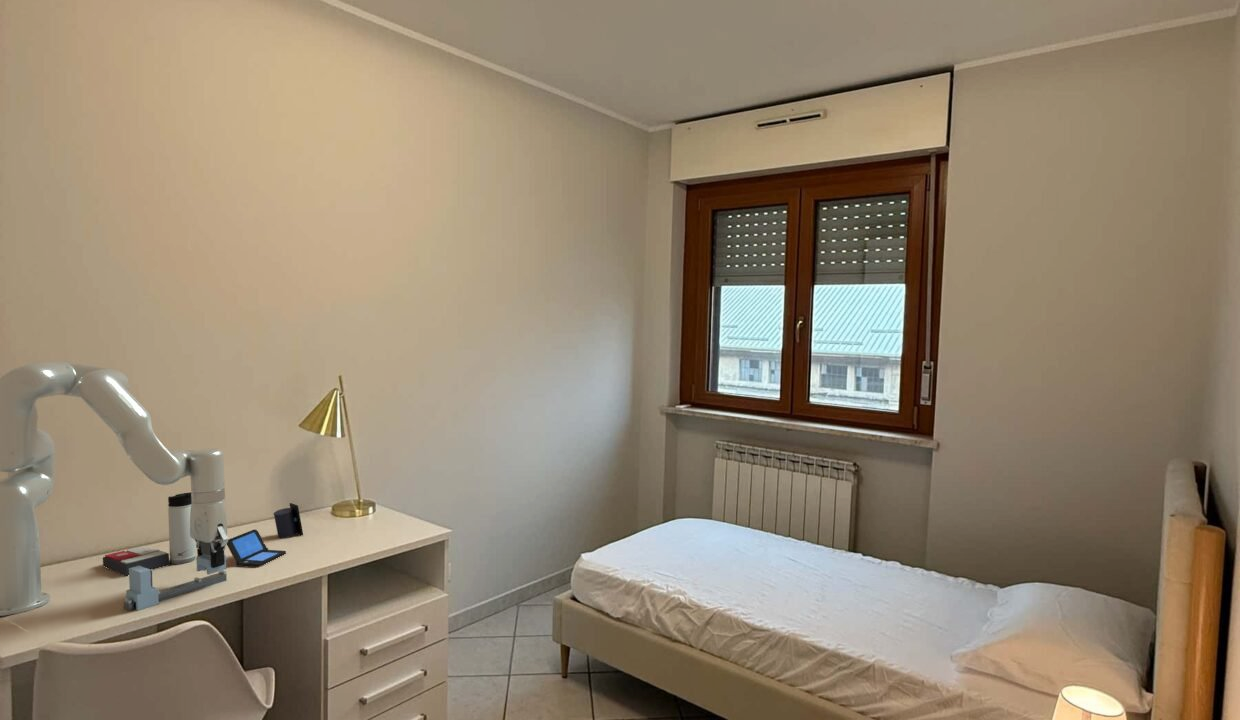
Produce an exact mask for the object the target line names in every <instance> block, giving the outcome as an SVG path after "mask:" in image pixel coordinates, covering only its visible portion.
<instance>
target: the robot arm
mask: <svg viewBox="0 0 1240 720" xmlns="http://www.w3.org/2000/svg"><path fill="white" fill-rule="evenodd" d="M129 390H130V382H129V379H128V377H127V376H126V375H125V373H123V372H121V371H119V369H118V370H117V369H115V368H108V367H99V366H92V365H85V364H81V363H80V364H79V363H73V362H66V361H47V362H45V361H44V362H34V363H28V364H25V365H22V366H21V365H20V366H18V367H16V368H14V369H10V370H9V371H7V372H5V373H4V374H2V375H1V376H0V472H3V473H7V477H4V478H1V479H0V617H2V616H11V615H17V614H20V613H25V612H28V611H32V610H34V609H37V608H39V607H42V606H44V605H46V604H47V603H48V602H49V601H50V599H51V595H50V593H48V592H45V591H44V592H43V591H42V575H41V574H42V571H41V550H40V549H41V547H40V546H41V545H40V544H41V543H40V530H39V522H38V519H37V516H36V513H35V512H36V511H35V508H37V507H38V506H41V505H42V504H44V503H45V502H46V501H47V500H49V498H50V497H51V495H52V493H53V492H54V486H55V467H56V461H55V460H56V447H55V442H54V440H53V438H52V437H51V436H50V434H49V433H48V432H46V431H44V430H42V429H39V428H38V419H39V418H38V417H39V416H38V410H37V406H36V402H37V401H38V400H39V399H42V398H47V397H49V398H50V397H53V396H69V397H77V398H80V399H81V400H82V401H83V402H84V403H85V404H86V405H87V406H88V407H89V408H90V409H91V410H92V411H93V412H94V414H96V415H97V416H98V417H99V418H100V419H101V420H102V421H103V422H104V424H106V426H107V427H108V428H109V429H111V431H112V432H113V433H114V434H115V435H116V437H117V440H118V442H119V443H120V445H121V446H122V448H123V450H124V451H125V453H126V455H127V456H128V458H129V459H130V461H131V462H133V464H134V465H135V466H136V468H138V470H140V471H141V472H142V474H144V475H145V477H147V478H148V479H149V480H150V481H152V482H154V483H155V484H158V485H161V486H163V485H164V486H169V485H172V484H175V483H177V482H178V481H180V480H181V479H182V478H183V479H184V478H185V477H187V476H188V477H190V492H191V499H192V505H191V512H190V536H191V538H193V539H195V549H196V550H197V553H196V555H197V556H201V555H203V554H202V553H201V541H202V542H205V543H210V544H211V549H212V553H211V567H212V568H215V567H219V566H222V565H224V564H225V559H224V555H225V550H226V546H227V542H228V540H229V538H228V519H227V512H226V505H225V501H226V495H225V493H226V488H225V467H224V453H223V450H221V449H218V448H205V449H204V448H203V449H198V450H197V449H196V450H195V449H194V450H193V449H173V450H168V448H167V447H166V446H165V445H164V444H163V443H162V442H161V441H160V440H159V438H158V437H157V435H156V434H155V431H154V429H153V426H152V424H153V423H152V417H151V414H150V412H149V410H147V409H146V408H145V407H144V406H143V405H142V404H141V402H140V401H138V399H137V398H136V397H135V396H134V395H133V394H132V393H131V392H130V391H129ZM216 537H219V538H220V539H217V540H215V538H216ZM215 542H219V543H218V544H217V545H216V546H215Z"/></svg>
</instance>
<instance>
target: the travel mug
mask: <svg viewBox="0 0 1240 720" xmlns="http://www.w3.org/2000/svg"><path fill="white" fill-rule="evenodd" d="M167 499H168V500H167V502H168V503H167V504H168V505H167V507H168V508H167V511H168V538H169V539H168V542H169V545H168V546H169V547H168V548H169V564H172V565H183V563H184V564H188V563H191V562H193V561H195V560H196V541H195V539H193V538H191V536H190V512H191V505H192V499H191V491H190V492H184V493H183V492H182V493H178V494H175V495H173V496H168V497H167Z"/></svg>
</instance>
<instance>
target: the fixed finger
mask: <svg viewBox="0 0 1240 720" xmlns="http://www.w3.org/2000/svg"><path fill="white" fill-rule="evenodd" d="M128 580H129V581H128V582H129V589H126V590H125V597H126V598H127V599H130V600H131V601H134V602H136V609H135V610H136V611H141V610H144V609H147V608H150V607H153V606H156V605H159V599H158V591H159V588H157V587H155V586H153V570H150V569H147V568H144V567H142V566H136V567H132V568H129V576H128ZM126 598H125V599H126Z"/></svg>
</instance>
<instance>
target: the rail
mask: <svg viewBox="0 0 1240 720" xmlns="http://www.w3.org/2000/svg"><path fill="white" fill-rule="evenodd" d="M227 579H228V578H227V571H225V570H222V571H219V572H216V573H213V574H209V575H207V576H204V577H201V578H199V577H194V578H193V580H190V581H187V582H184V583H181V584H177V585H174V586H171V587H167V588H165V589H161V590H158V599H159V602H163V601H166V600H168V599H172V598H176V597H178V596H181V595H185V594H189V593H191V592H195V591H197V590H201V589H203V588H207V587H210V586H213V585H216V584H220V583H224V582H226V581H227ZM123 610H125V611H127V612H131V611H134V610H136V602H134V601H131V600H130V599H127V598H123Z"/></svg>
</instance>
